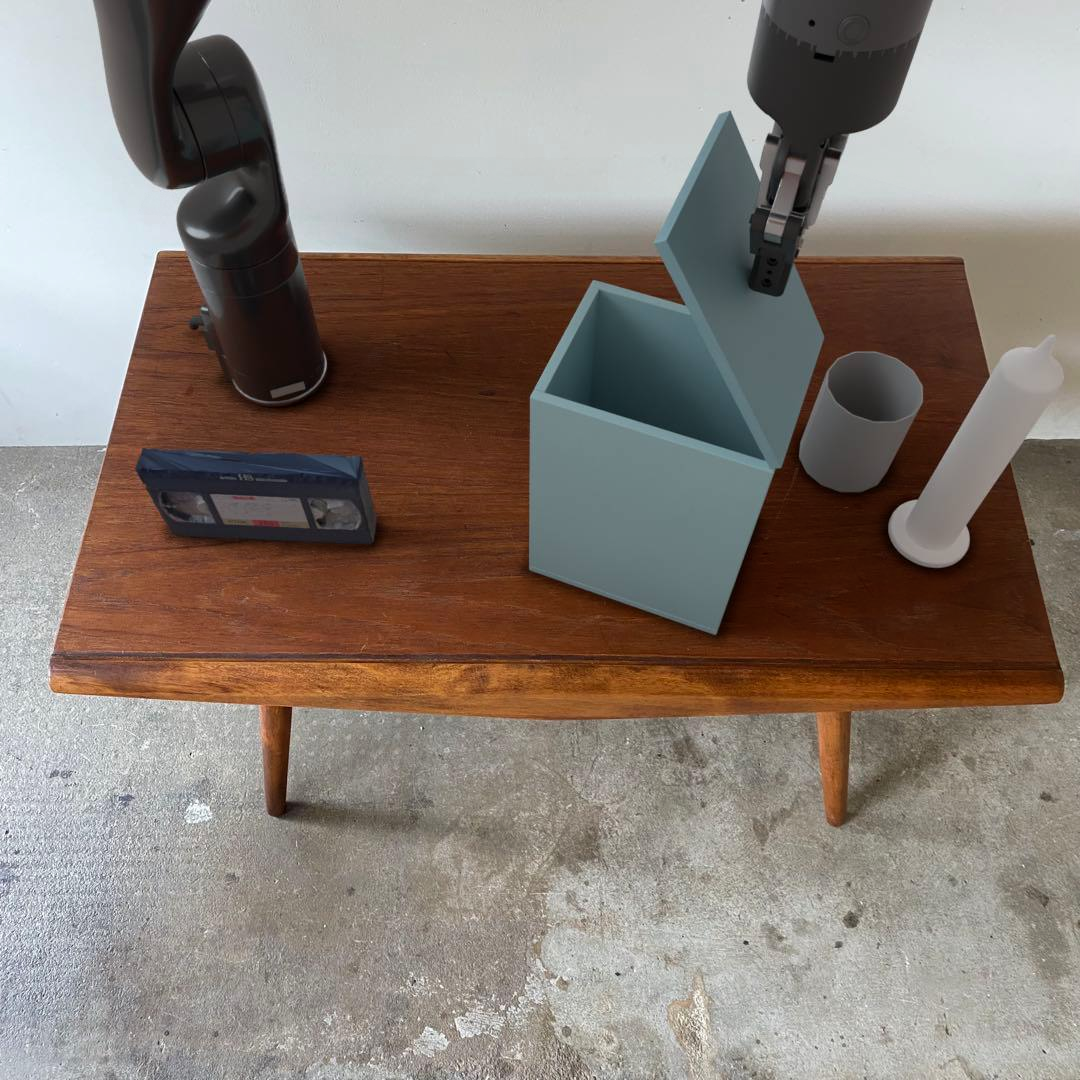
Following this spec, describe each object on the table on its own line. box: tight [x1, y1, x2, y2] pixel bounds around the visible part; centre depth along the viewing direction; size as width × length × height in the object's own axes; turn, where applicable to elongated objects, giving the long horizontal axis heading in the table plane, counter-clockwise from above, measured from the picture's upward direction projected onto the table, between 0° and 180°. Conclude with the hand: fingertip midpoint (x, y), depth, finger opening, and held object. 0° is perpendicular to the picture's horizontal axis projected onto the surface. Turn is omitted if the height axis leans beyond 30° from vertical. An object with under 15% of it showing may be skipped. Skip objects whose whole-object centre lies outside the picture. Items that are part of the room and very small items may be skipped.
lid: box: [653, 110, 825, 470], centre depth 60 cm, size 18×13×1 cm
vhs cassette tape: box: [134, 447, 378, 545], centre depth 83 cm, size 18×3×10 cm, turn 86°
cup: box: [798, 351, 924, 493], centre depth 88 cm, size 8×8×10 cm
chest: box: [528, 279, 776, 636], centre depth 77 cm, size 17×13×23 cm
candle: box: [887, 333, 1065, 569], centre depth 77 cm, size 7×7×25 cm
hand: (767, 286), depth 59 cm, fingers closed
